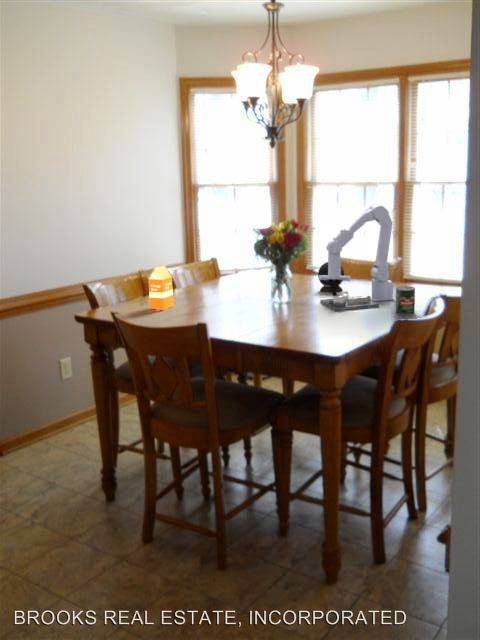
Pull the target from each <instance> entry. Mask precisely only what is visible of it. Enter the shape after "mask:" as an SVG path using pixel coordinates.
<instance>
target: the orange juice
mask: <svg viewBox="0 0 480 640" xmlns="http://www.w3.org/2000/svg"><path fill="white" fill-rule="evenodd" d="M147 281H148V292H149V293H148V294H149V296H148V297H149V307H150V308H156V309H166V308H168V307H171V306H174V307H175V304H174V291H173V290H174V288H173V276H172V274H170V272H169V271H168V269H167V267H166V265H164V264H163V265H159V266H156V267H154V269H153V270H152V271H151V274H150V276H149V277H148V279H147ZM150 308H149V309H150Z"/></svg>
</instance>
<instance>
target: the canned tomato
mask: <svg viewBox="0 0 480 640" xmlns="http://www.w3.org/2000/svg"><path fill="white" fill-rule="evenodd" d="M415 290H416V287H413V286H406V285H405V286H398V287H396V289H395V314H396V315H398V316H412V315H415V302H416V301H415V300H416V298H415V297H416V291H415Z"/></svg>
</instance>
